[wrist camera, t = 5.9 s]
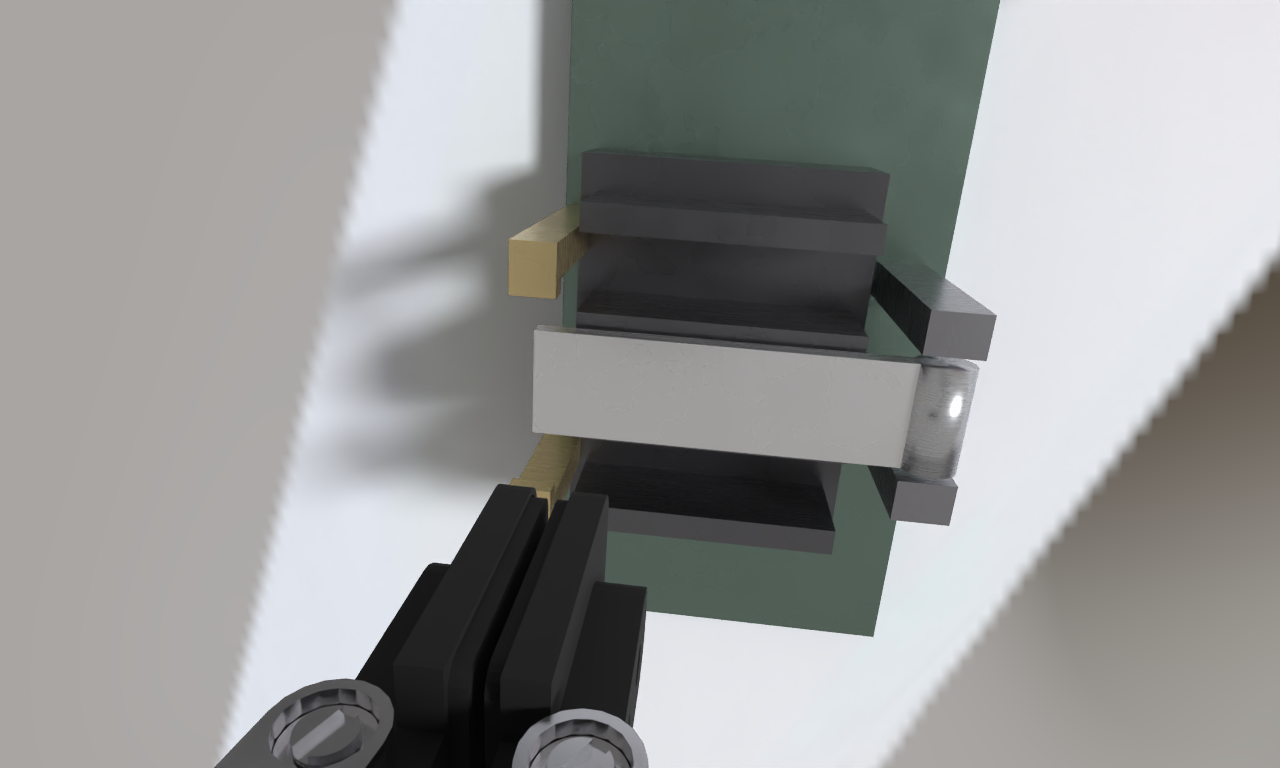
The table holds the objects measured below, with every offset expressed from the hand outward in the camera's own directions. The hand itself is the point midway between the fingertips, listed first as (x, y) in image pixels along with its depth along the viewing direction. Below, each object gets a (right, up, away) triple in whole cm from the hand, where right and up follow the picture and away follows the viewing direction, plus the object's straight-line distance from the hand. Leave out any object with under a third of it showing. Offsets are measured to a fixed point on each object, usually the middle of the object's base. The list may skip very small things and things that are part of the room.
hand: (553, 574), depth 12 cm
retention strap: (+4, +3, +10) cm, 11 cm away
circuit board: (+5, +5, +17) cm, 18 cm away
